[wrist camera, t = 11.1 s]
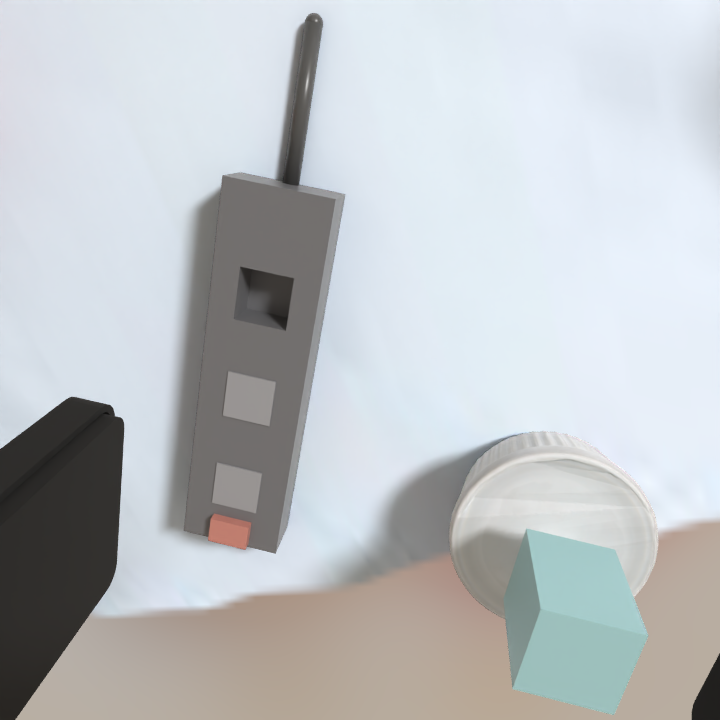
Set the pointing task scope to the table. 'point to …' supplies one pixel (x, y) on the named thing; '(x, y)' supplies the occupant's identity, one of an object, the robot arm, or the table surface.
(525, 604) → the block
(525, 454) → the ramekin
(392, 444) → the table surface
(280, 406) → the power strip
